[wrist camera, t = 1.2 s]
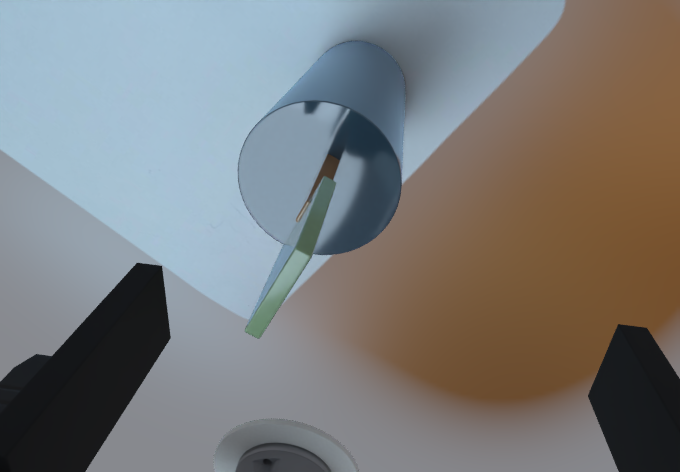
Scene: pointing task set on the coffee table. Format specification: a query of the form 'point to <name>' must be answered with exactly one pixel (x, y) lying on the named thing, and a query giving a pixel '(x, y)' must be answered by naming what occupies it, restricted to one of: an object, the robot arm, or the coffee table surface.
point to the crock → (325, 164)
